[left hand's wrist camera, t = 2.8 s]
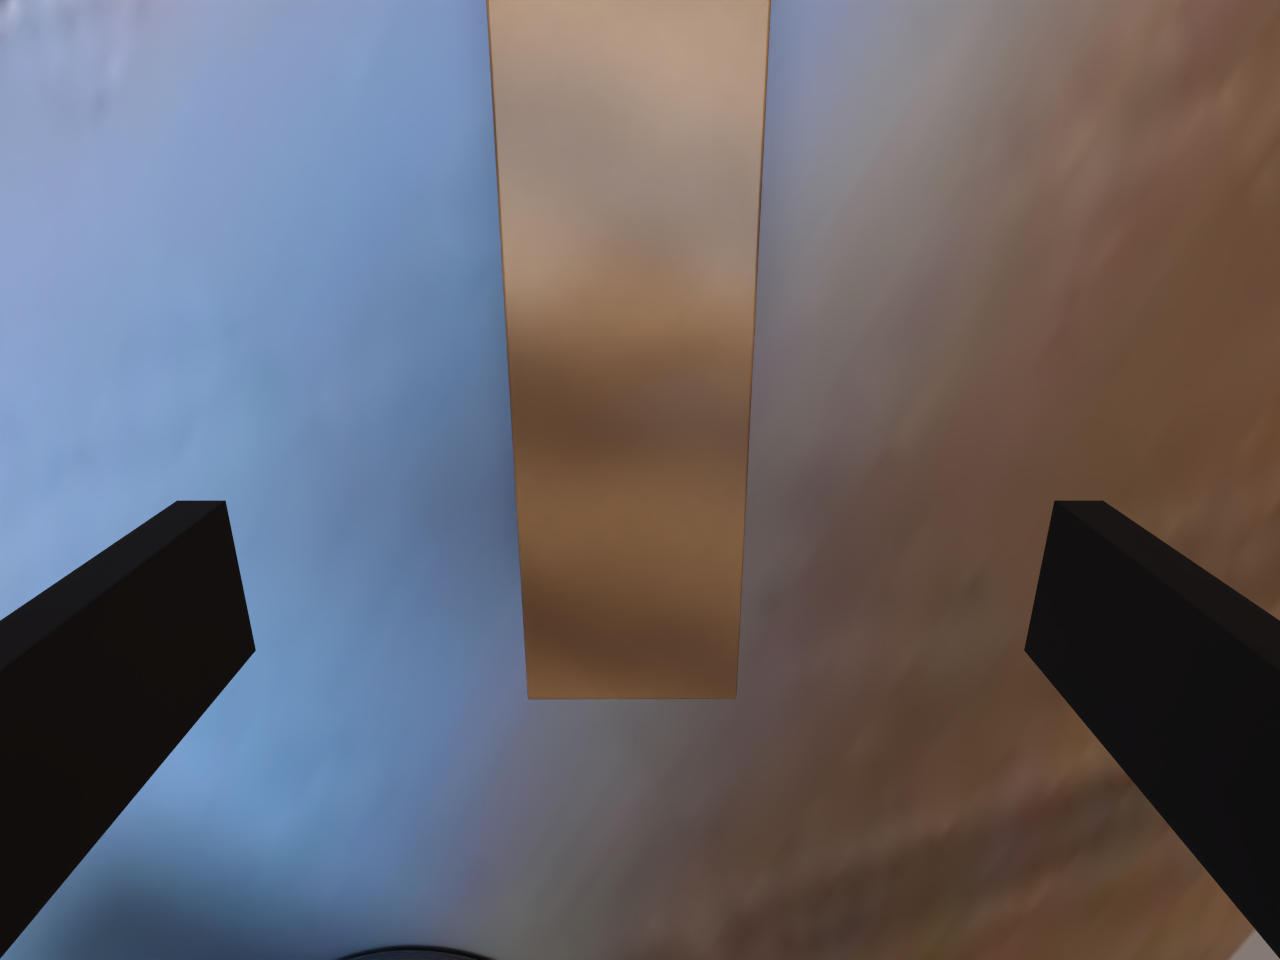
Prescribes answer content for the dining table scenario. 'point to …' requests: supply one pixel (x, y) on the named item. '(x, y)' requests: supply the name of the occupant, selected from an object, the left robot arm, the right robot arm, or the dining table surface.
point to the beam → (630, 331)
